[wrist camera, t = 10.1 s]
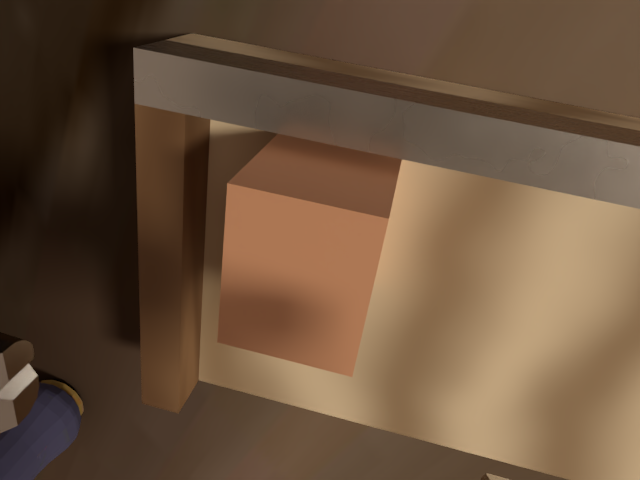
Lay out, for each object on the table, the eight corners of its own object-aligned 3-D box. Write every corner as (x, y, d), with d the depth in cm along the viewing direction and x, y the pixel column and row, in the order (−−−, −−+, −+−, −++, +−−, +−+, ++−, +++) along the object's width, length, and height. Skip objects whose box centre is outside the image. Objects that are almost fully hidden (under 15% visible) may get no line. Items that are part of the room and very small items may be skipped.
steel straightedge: (931, 186, 14) (1000, 217, 12) (891, 238, 15) (950, 273, 13) (165, 39, 17) (132, 47, 15) (165, 90, 17) (134, 103, 16)
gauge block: (403, 154, 17) (389, 219, 12) (373, 284, 19) (352, 377, 15) (282, 129, 17) (227, 183, 13) (267, 259, 20) (217, 342, 15)
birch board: (877, 163, 16) (1000, 217, 12) (664, 468, 23) (705, 560, 19) (192, 33, 18) (132, 47, 15) (184, 343, 25) (142, 403, 22)
